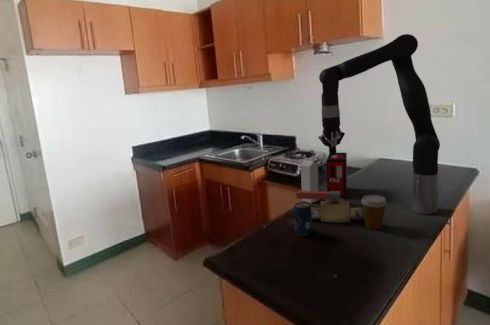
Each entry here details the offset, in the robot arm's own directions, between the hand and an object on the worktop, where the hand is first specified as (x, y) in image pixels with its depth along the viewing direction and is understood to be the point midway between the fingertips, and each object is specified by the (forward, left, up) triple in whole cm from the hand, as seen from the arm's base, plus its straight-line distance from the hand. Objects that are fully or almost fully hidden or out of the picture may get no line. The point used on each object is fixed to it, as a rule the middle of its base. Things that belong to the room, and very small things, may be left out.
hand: (332, 155), depth 148 cm
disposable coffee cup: (-15, +16, -27) cm, 35 cm away
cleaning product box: (-3, -25, -27) cm, 37 cm away
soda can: (+13, +23, -27) cm, 37 cm away
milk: (+11, -14, -27) cm, 32 cm away
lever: (+7, +8, -17) cm, 20 cm away
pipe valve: (+1, +9, -27) cm, 28 cm away
